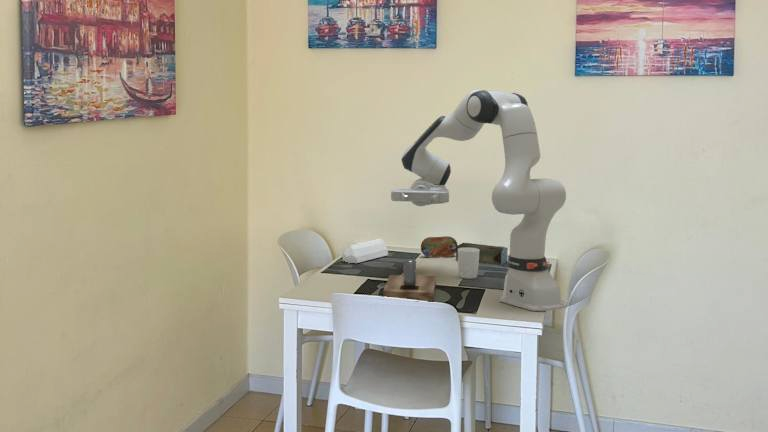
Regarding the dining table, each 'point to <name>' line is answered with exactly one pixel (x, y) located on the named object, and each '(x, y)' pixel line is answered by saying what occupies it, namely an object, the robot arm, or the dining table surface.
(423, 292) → the socket block
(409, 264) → the pin
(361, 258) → the white rounded block
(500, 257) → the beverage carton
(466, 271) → the white cup
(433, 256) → the tin
